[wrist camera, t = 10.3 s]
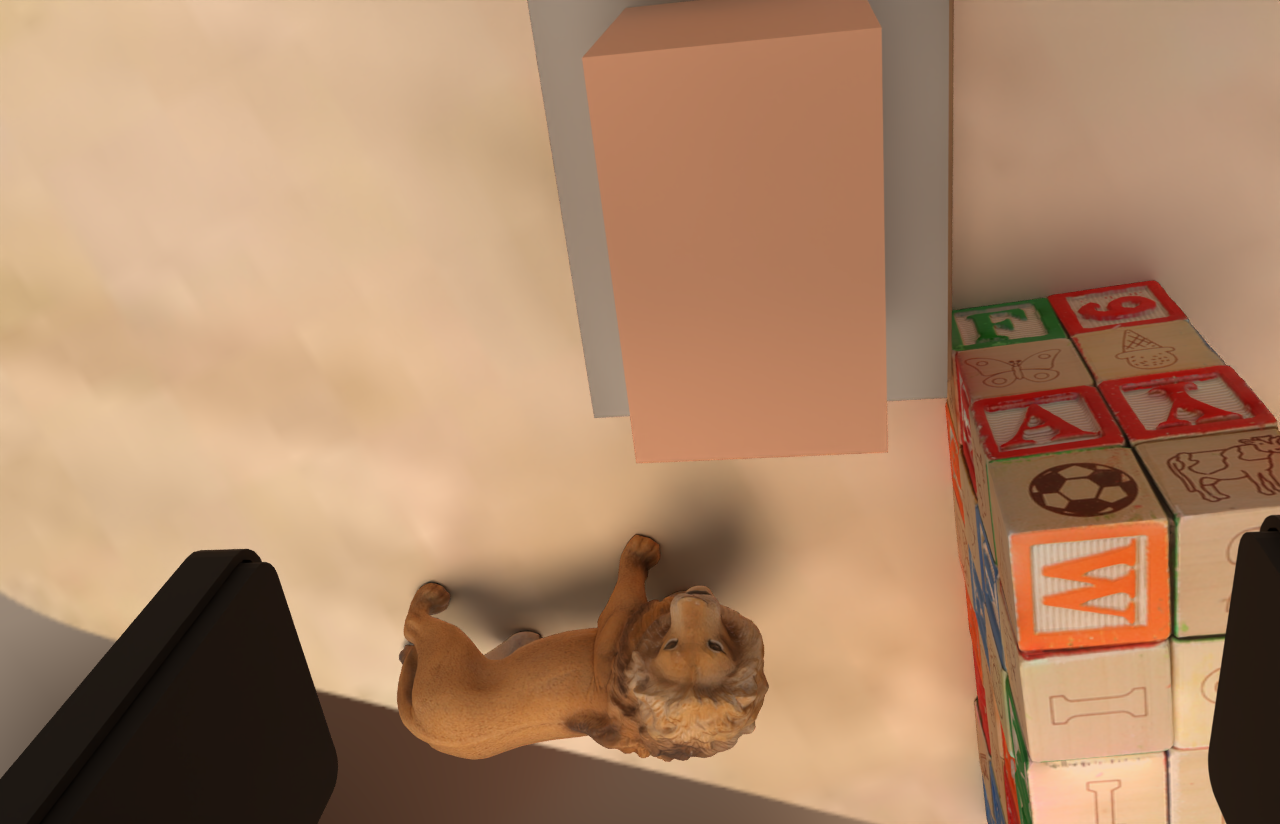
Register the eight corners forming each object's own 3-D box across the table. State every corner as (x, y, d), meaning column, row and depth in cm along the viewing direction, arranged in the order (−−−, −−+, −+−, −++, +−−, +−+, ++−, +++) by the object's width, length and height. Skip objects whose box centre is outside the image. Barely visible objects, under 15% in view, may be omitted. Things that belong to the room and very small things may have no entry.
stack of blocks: (1157, 806, 41) (1293, 1156, 30) (983, 817, 42) (1054, 1157, 31) (1156, 272, 32) (1353, 501, 21) (933, 305, 33) (1009, 538, 22)
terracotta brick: (858, -18, 23) (881, 27, 18) (866, 330, 27) (888, 452, 22) (625, 7, 24) (581, 57, 19) (663, 342, 28) (636, 463, 22)
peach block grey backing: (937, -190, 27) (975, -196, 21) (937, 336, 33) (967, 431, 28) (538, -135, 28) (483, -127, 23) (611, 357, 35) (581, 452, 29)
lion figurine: (733, 463, 36) (719, 641, 28) (797, 585, 38) (802, 783, 30) (369, 599, 40) (269, 786, 33) (444, 702, 42) (367, 902, 34)
